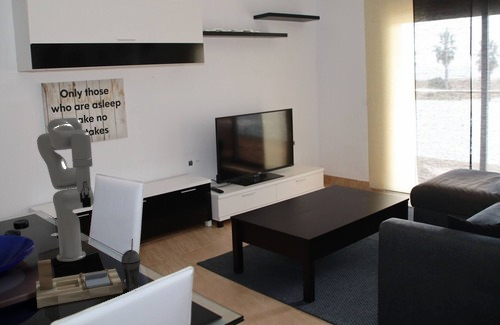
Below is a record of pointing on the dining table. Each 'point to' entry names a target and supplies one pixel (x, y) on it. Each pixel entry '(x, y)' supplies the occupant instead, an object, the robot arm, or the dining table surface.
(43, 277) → the walnut block
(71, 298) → the puzzle board
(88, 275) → the lid
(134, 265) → the beverage cup
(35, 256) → the dining table surface
